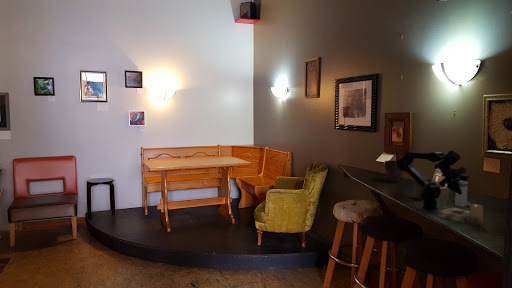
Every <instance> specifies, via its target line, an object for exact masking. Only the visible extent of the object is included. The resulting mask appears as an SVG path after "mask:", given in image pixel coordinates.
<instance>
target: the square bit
mask: <svg viewBox="0 0 512 288" xmlns="http://www.w3.org/2000/svg"><path fill="white" fill-rule="evenodd" d="M457 186H458V188H459V189H460V191H461V193H462V194H461V195H460V194H458V193H456V192H455V195H456V196H454V205H455V206H458V207H466V206H468V205H467V202H468V188H469V187H468V186H469V182H468V181H466V182H465V181H457Z"/></svg>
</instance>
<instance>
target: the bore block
mask: <svg viewBox="0 0 512 288" xmlns="http://www.w3.org/2000/svg"><path fill="white" fill-rule="evenodd" d="M469 213H470V210H466V209H462V208H458V207H449V208H445V209H441V210H438V214H437V215H438V216H437V217H438V218H443V219H448V220H450V219H451V221H454V220H455V221H454V222H458V221H459V223H462V224H465V223H469Z"/></svg>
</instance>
